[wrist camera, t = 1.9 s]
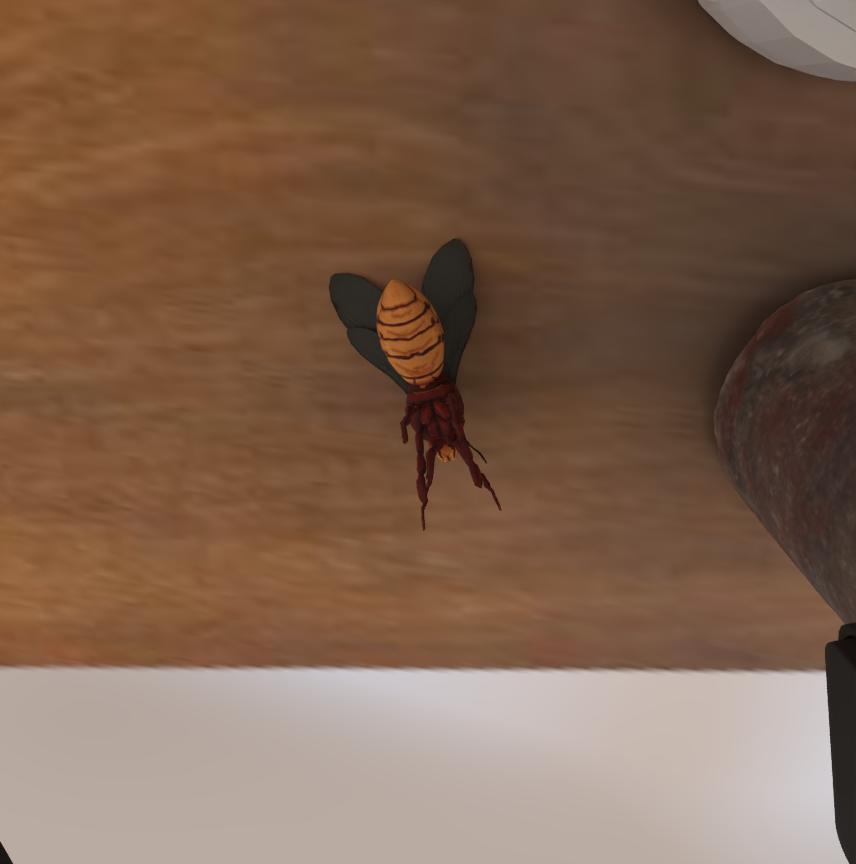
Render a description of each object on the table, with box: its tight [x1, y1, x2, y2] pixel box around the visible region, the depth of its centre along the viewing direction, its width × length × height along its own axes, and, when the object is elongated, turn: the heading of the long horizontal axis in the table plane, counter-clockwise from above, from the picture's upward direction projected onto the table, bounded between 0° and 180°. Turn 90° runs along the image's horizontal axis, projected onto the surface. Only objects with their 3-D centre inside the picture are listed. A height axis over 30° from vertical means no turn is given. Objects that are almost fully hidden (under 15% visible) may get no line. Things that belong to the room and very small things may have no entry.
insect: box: [329, 239, 501, 531], centre depth 20 cm, size 4×6×5 cm, turn 16°
